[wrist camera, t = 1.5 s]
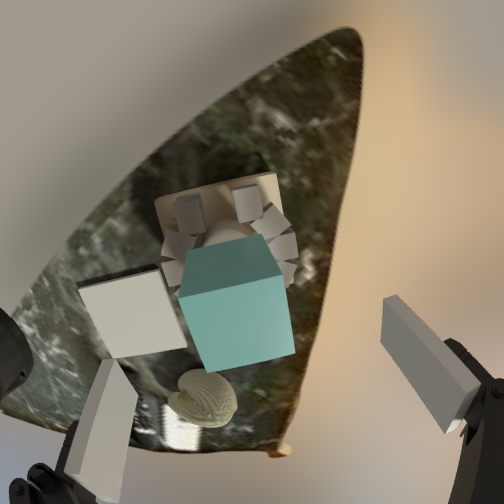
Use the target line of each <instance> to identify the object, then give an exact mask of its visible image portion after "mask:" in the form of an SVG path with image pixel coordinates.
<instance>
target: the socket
mask: <svg viewBox="0 0 504 504" xmlns="http://www.w3.org/2000/svg"><path fill="white" fill-rule="evenodd" d="M154 204H155V208H156V211H157V215H158V218H159V222H160V225H161V228H162V232H163V235H164V238H165V239H164V243H163V247H162V251H161V255H162V256H164V257H163V260H162V262H161V265H162V268H163V271H164V274H165V277H166V279H167V282H168V285H169V287H172V286H175V291H174V294H175V295H176V296H177V297H178V295H179V290H180V285H181V280H182V275H183V270H184V265H185V260H186V255H187V251H188V250H193V249H197V248H201V245H202V239H203V236H204V233H205V232H206V230H207V229H208V228H209V227H210V226H211V225H212V224H214V223H216V222H218V221H221V220H227V219H230V220H236V221H238V222H239V224H240V223H243V224H244V225H245V226H246V227H248V229H249V230H250V231H251V233H252V232H257V233H258V234H262V235H263V237H264V239H265V241H266V243H267V245H268V247H269V249H270V251H271V253H272V255H273V256H274V258H275V260H276V262H277V264H278V266H279V268H280V270H281V272H282V274H283V279H284V285H285V287H287V288H288V286H289V284H291V283H294V279H293V275H294V272H295V270H296V267H297V264H296V262H295V261H294V260H293V258H297V257H298V250H297V244H296V237H295V232H294V231H293V230H292V229H291V228H289V229H287V228H288V227H289V226H290V225H291V224H290V223H289V221H288V220H287V219H286V218H285V217H284V216H283V210H282V204H281V199H280V193H279V187H278V182H277V176H276V173H274V172H272V171H270V172H265V173H260V174H255V175H250V176H245V177H241V178H236V179H232V180H227V181H223V182H218V183H214V184H210V185H206V186H201V187H197V188H193V189H189V190H185V191H181V192H178V193H174V194H170V195H166V196H162V197H159V198H157V199H156V200H155V201H154Z"/></svg>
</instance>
